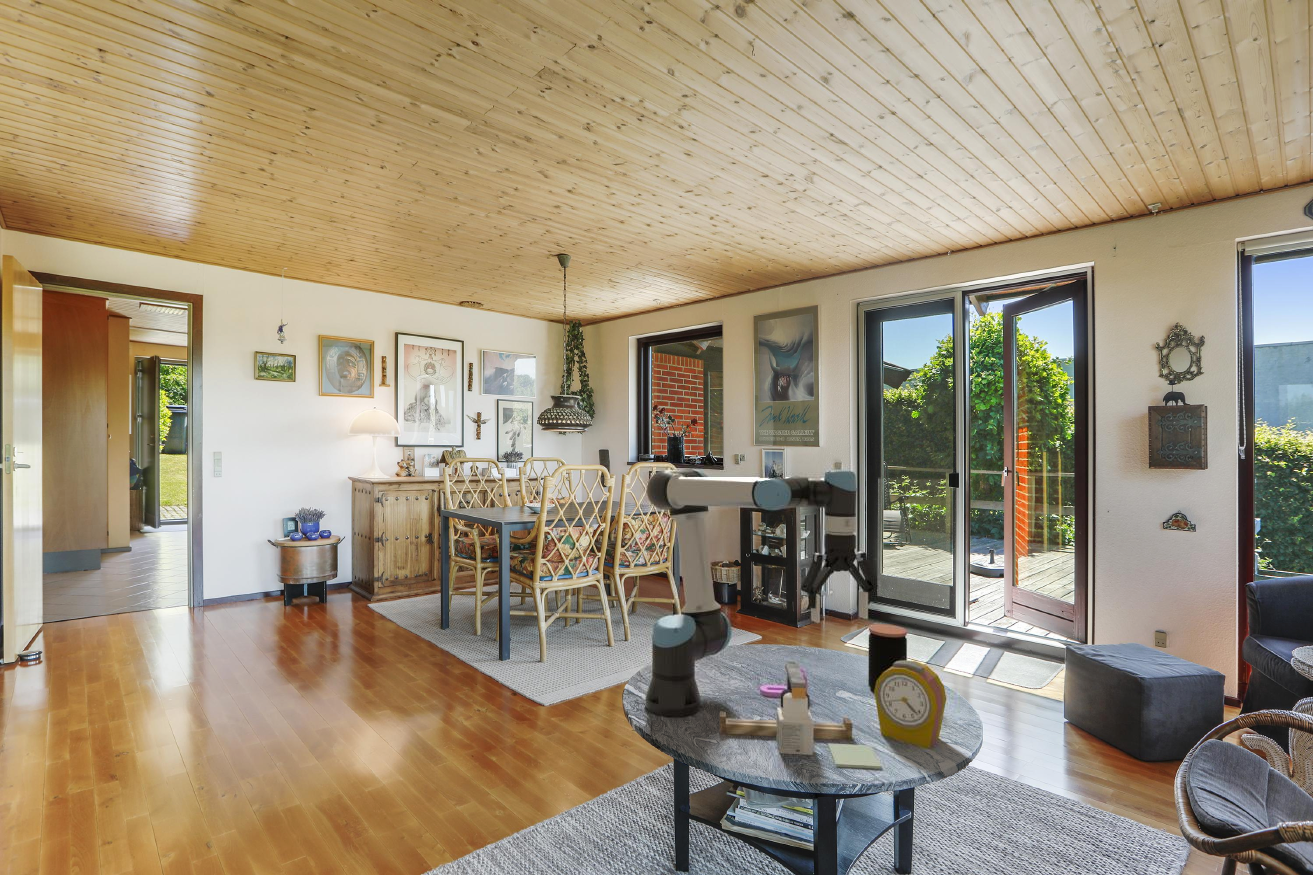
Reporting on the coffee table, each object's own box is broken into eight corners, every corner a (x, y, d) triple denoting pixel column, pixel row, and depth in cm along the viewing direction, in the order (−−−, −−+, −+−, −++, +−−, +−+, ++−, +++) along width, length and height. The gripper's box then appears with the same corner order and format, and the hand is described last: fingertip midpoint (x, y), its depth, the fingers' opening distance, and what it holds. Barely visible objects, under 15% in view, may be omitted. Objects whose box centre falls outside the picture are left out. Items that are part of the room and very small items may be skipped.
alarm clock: (873, 733, 159) (873, 658, 159) (885, 722, 165) (885, 651, 165) (935, 751, 149) (936, 672, 149) (946, 740, 155) (946, 664, 156)
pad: (835, 766, 141) (836, 763, 141) (827, 745, 151) (827, 743, 151) (882, 768, 140) (882, 766, 140) (871, 748, 150) (871, 745, 150)
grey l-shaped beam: (791, 749, 143) (792, 682, 144) (784, 720, 159) (784, 660, 159) (805, 749, 143) (805, 683, 144) (796, 721, 158) (797, 661, 159)
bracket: (804, 691, 186) (804, 667, 187) (807, 698, 181) (807, 673, 181) (759, 689, 188) (759, 665, 188) (760, 696, 182) (761, 671, 182)
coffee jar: (903, 700, 180) (904, 636, 181) (864, 692, 186) (865, 630, 186) (909, 688, 190) (909, 627, 190) (872, 681, 195) (872, 622, 195)
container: (776, 738, 155) (776, 684, 155) (808, 740, 154) (809, 686, 154) (779, 753, 147) (779, 696, 147) (813, 755, 146) (813, 698, 147)
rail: (719, 733, 157) (719, 716, 158) (719, 727, 161) (719, 711, 161) (852, 739, 155) (852, 723, 155) (849, 734, 158) (849, 717, 158)
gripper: (803, 536, 150) (802, 626, 150) (892, 533, 158) (892, 619, 157) (787, 532, 157) (786, 618, 157) (873, 529, 165) (873, 612, 164)
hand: (839, 619), depth 157 cm, fingers open, 13 cm apart
